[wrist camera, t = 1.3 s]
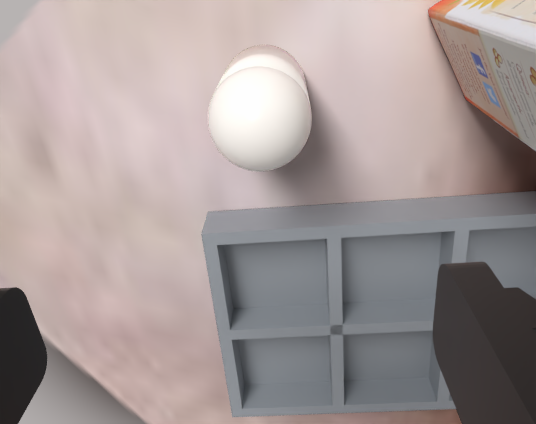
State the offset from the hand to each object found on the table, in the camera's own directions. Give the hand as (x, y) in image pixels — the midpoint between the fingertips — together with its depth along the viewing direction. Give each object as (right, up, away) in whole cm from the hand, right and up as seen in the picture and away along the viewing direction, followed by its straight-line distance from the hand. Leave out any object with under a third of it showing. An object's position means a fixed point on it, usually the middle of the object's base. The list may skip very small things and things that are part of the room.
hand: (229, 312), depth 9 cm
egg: (+1, +9, +17) cm, 20 cm away
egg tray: (+9, -4, +24) cm, 26 cm away
